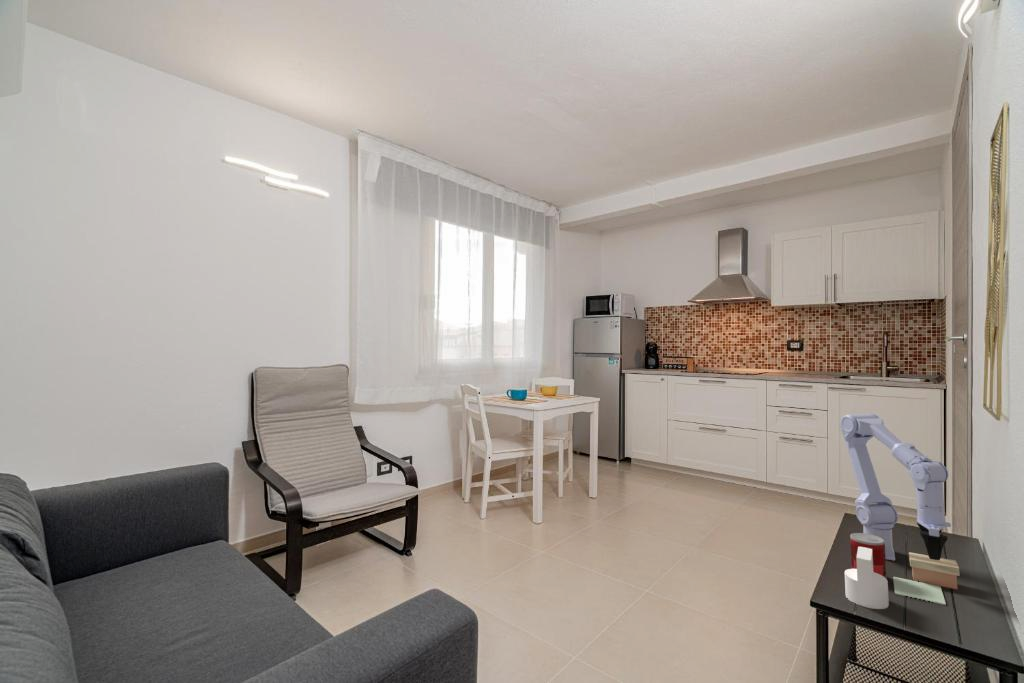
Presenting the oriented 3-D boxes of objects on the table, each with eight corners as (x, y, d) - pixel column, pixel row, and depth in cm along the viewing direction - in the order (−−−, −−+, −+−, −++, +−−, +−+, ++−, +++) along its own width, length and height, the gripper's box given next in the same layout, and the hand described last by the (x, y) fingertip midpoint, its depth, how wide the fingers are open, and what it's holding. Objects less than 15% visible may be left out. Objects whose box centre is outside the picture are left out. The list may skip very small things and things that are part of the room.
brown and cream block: (912, 574, 135) (911, 560, 135) (954, 583, 129) (954, 568, 129) (913, 580, 131) (912, 566, 131) (957, 589, 126) (956, 574, 126)
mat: (893, 577, 133) (893, 576, 133) (940, 587, 127) (940, 586, 127) (894, 594, 124) (894, 592, 124) (945, 605, 118) (945, 604, 118)
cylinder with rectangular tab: (846, 587, 128) (844, 543, 129) (888, 597, 122) (886, 551, 123) (844, 601, 121) (842, 554, 122) (888, 613, 116) (886, 563, 116)
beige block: (909, 559, 136) (908, 552, 136) (956, 567, 130) (955, 560, 130) (910, 566, 131) (910, 559, 131) (959, 576, 125) (959, 568, 125)
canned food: (892, 583, 130) (890, 543, 130) (860, 581, 131) (858, 542, 132) (877, 571, 137) (875, 533, 138) (846, 569, 139) (844, 532, 139)
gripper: (953, 515, 123) (956, 567, 122) (946, 500, 134) (948, 548, 134) (918, 510, 127) (920, 561, 127) (913, 496, 139) (916, 543, 138)
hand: (932, 554), depth 130 cm, fingers open, 7 cm apart
